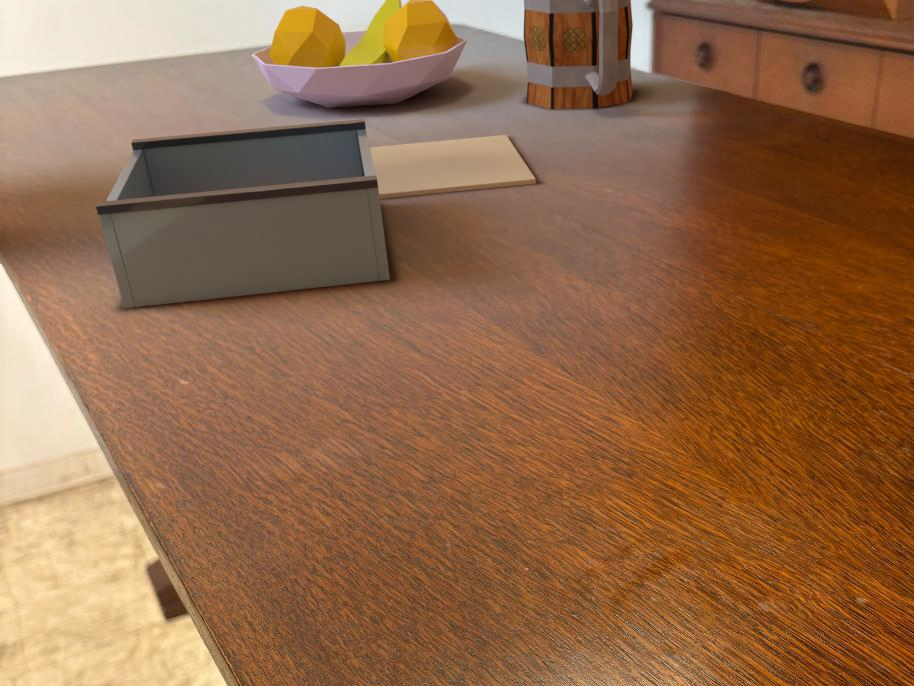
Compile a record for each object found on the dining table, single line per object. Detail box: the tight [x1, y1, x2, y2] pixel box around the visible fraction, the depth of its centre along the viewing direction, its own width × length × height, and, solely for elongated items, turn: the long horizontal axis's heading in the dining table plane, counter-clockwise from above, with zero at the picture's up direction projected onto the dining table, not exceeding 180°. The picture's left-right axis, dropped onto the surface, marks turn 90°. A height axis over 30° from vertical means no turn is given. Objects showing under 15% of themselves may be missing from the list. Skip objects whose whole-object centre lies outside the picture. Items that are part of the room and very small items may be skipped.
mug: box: [523, 0, 634, 110], centre depth 126 cm, size 20×14×15 cm
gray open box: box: [95, 118, 391, 309], centre depth 87 cm, size 20×20×8 cm
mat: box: [370, 134, 537, 200], centre depth 108 cm, size 20×18×1 cm
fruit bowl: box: [250, 0, 468, 109], centre depth 137 cm, size 28×27×11 cm
